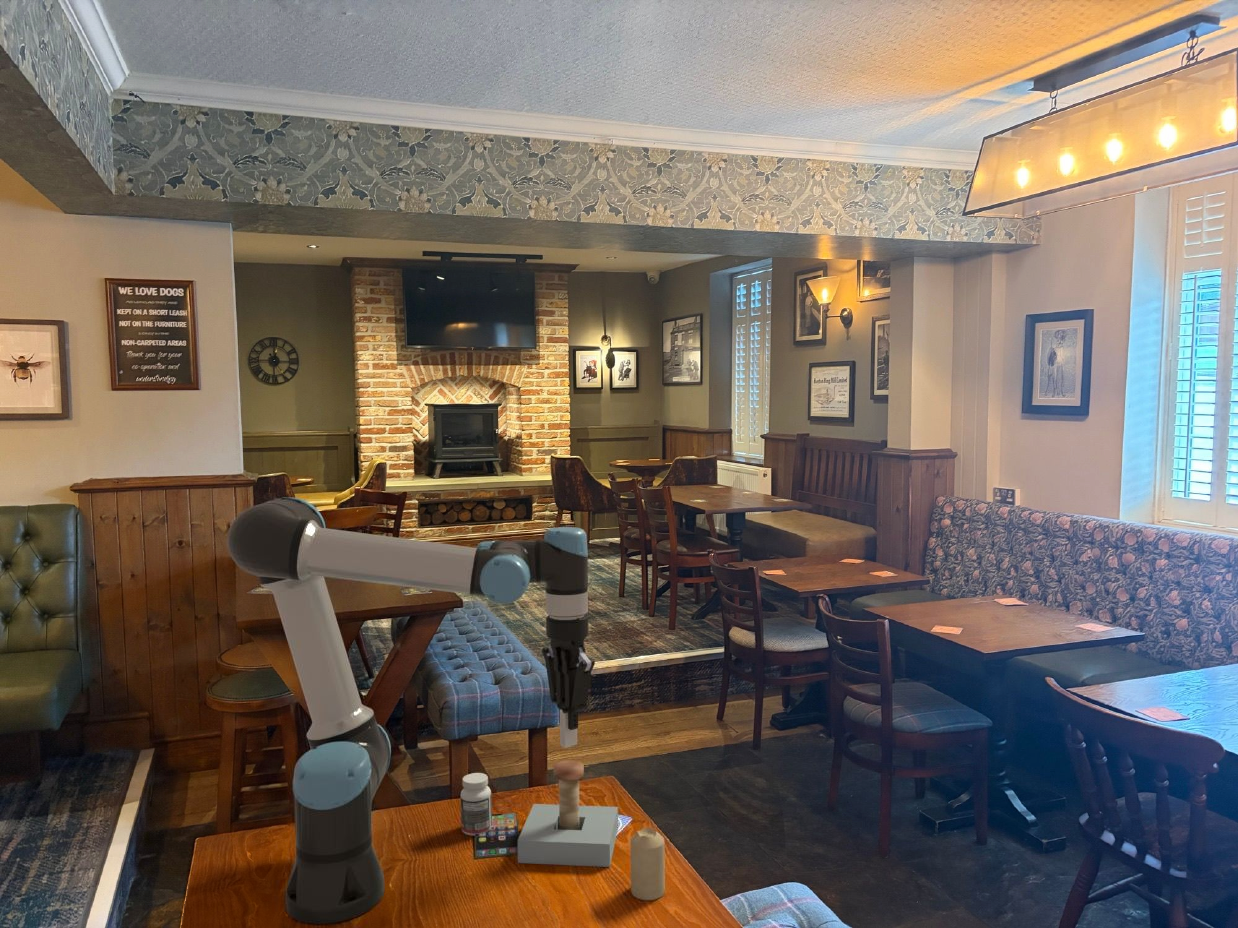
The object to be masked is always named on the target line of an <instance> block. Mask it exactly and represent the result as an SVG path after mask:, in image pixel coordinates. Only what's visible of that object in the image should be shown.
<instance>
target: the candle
mask: <svg viewBox="0 0 1238 928" xmlns="http://www.w3.org/2000/svg"><path fill="white" fill-rule="evenodd" d="M629 842H630V891H631V894H632V896H633V897H635V898H636V899H639V900H642V901H655V900H658V899H660V898H661V897H663V896H664V895H665V891H666V888H665V887H666V873H665V871H666V867H665V865H666V863H665V859H666V857H665V856H666V855H665V852H666V851H665V838H664V837H663V835H661V834H660V833H659V832H658V831H657V830H656V829H654V827H644V828H643V827H642V829H641V830H637V831H636V832H635V834H634V835H633V836H632V837H631V838H630V841H629Z"/></svg>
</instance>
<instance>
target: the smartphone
mask: <svg viewBox="0 0 1238 928" xmlns="http://www.w3.org/2000/svg"><path fill="white" fill-rule="evenodd" d="M519 829H520V828H519V821H518V813H517V812H509V813H506V812H505V813H492V828H491V829H490V830H488V831H487V832H484V833H481V834H476V835H475V836H474V859H475V860H479V859H489V858H491V859H492V858H500V857H512V856H518V838H519V836H520V832H519V831H520V830H519Z"/></svg>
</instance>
